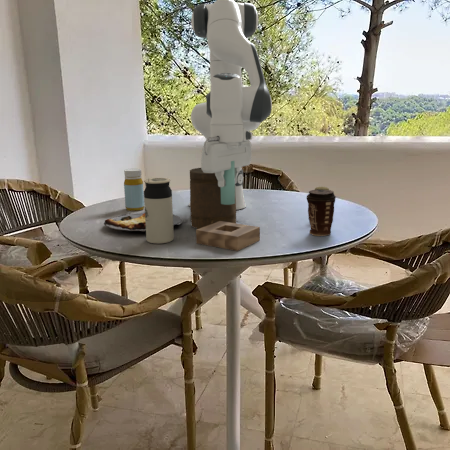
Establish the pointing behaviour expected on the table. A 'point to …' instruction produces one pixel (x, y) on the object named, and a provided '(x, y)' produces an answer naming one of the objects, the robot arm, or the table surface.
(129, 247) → the table surface
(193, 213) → the wooden container
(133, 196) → the bottle
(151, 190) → the travel mug
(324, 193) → the coffee cup
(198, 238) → the socket block
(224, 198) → the peg
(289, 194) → the table surface
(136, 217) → the food plate
